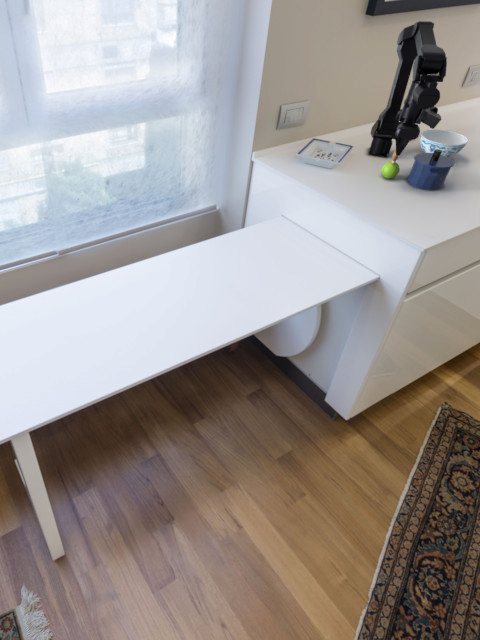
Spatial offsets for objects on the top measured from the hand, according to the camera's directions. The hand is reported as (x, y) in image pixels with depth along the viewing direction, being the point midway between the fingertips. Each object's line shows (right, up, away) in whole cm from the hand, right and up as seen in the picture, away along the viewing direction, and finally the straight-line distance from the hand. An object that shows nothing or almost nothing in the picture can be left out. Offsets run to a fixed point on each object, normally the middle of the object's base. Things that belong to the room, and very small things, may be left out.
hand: (397, 150), depth 144 cm
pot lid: (+11, -4, -2) cm, 12 cm away
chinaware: (+24, +4, +19) cm, 30 cm away
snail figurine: (0, -7, +7) cm, 10 cm away
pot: (+11, -10, +3) cm, 15 cm away
